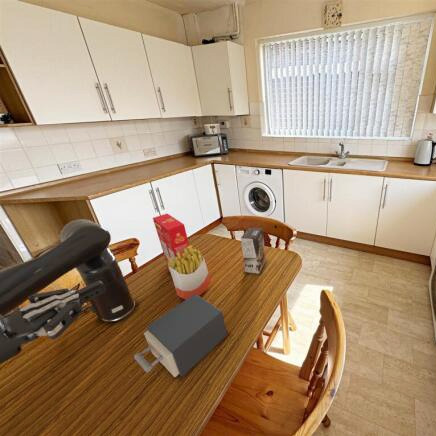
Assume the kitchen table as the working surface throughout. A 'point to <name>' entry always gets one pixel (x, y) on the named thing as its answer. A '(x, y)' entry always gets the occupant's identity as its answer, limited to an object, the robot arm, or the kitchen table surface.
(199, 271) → the french fries container
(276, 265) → the kitchen table surface
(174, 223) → the food packaging
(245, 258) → the coffee box
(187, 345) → the cabinet
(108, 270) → the robot arm
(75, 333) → the kitchen table surface
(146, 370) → the drawer
